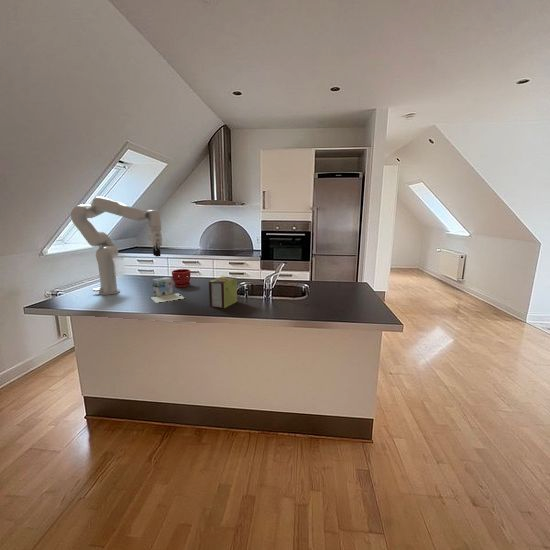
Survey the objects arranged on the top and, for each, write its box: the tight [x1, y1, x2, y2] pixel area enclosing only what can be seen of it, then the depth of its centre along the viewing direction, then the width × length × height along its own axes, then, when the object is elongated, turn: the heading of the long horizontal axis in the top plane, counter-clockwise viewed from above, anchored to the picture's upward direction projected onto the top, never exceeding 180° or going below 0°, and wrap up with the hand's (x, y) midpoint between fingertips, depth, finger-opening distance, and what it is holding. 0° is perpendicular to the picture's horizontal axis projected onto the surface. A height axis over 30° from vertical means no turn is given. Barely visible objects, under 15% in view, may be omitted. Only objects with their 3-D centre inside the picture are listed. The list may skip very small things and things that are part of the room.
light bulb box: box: [152, 277, 174, 297], centre depth 195 cm, size 11×7×11 cm, turn 143°
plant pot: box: [171, 268, 191, 288], centre depth 219 cm, size 13×13×12 cm
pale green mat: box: [150, 292, 185, 304], centre depth 188 cm, size 18×14×1 cm
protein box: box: [208, 275, 238, 309], centre depth 177 cm, size 10×15×16 cm
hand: (156, 255), depth 199 cm, fingers open, 4 cm apart
